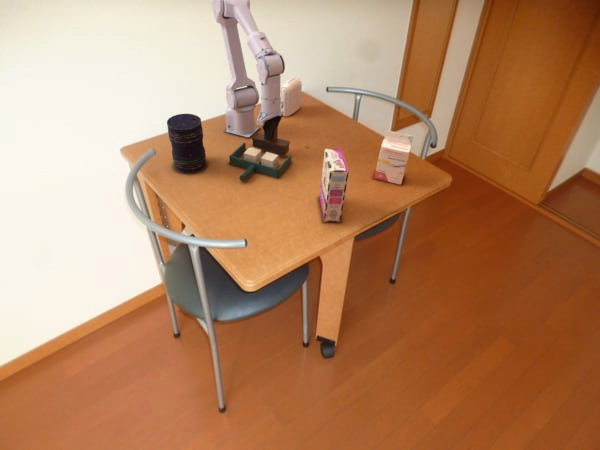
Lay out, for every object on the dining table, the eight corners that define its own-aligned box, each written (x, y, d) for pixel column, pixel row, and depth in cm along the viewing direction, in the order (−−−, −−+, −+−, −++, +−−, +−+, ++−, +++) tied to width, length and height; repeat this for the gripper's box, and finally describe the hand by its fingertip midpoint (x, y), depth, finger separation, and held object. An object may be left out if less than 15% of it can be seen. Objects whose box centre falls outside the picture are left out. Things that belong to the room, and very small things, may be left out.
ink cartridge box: (373, 179, 129) (382, 136, 119) (376, 170, 133) (385, 129, 123) (401, 185, 127) (411, 143, 118) (403, 176, 131) (414, 135, 121)
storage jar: (179, 176, 125) (171, 132, 116) (170, 160, 132) (162, 116, 122) (211, 169, 129) (206, 125, 119) (201, 154, 135) (195, 111, 126)
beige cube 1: (244, 163, 132) (243, 153, 130) (250, 157, 135) (249, 147, 132) (255, 167, 131) (255, 156, 129) (261, 161, 134) (261, 150, 131)
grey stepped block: (252, 146, 137) (251, 124, 132) (257, 141, 140) (256, 120, 134) (285, 155, 134) (285, 133, 129) (289, 150, 136) (290, 128, 131)
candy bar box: (342, 222, 113) (349, 171, 102) (323, 222, 112) (329, 171, 102) (336, 197, 121) (342, 147, 110) (318, 197, 121) (323, 147, 110)
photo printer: (288, 117, 157) (289, 86, 149) (278, 114, 159) (279, 83, 151) (302, 108, 164) (303, 77, 156) (292, 105, 166) (294, 74, 158)
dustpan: (217, 175, 127) (217, 167, 125) (244, 150, 138) (244, 142, 136) (267, 190, 122) (267, 182, 120) (291, 163, 134) (291, 155, 132)
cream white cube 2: (261, 168, 131) (260, 157, 128) (266, 162, 133) (266, 151, 131) (272, 172, 130) (272, 161, 127) (278, 165, 132) (278, 154, 130)
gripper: (271, 108, 119) (271, 150, 128) (292, 90, 129) (291, 129, 138) (249, 103, 121) (251, 144, 129) (272, 85, 131) (272, 125, 140)
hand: (270, 136), depth 134 cm, fingers closed on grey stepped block, 2 cm apart
